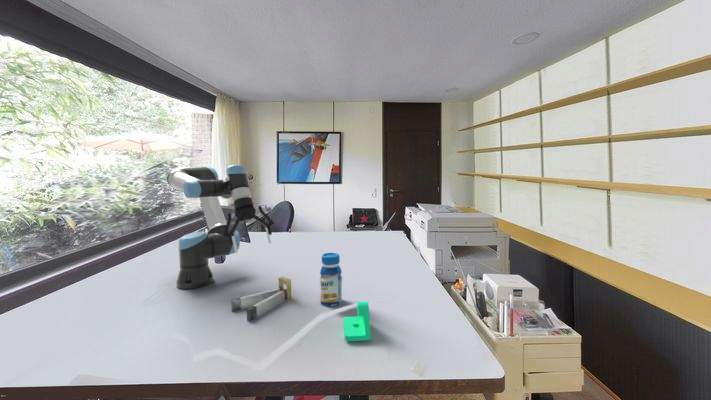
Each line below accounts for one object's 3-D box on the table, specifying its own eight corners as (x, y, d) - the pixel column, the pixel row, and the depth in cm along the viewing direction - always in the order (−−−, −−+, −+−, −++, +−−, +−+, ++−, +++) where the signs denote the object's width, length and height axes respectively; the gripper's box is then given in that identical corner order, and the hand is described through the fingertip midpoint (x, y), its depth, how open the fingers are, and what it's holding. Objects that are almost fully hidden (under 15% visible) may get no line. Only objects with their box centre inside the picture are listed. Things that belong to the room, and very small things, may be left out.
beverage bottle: (346, 304, 114) (346, 254, 112) (330, 312, 108) (329, 259, 106) (332, 298, 120) (331, 250, 118) (315, 305, 114) (314, 255, 112)
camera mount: (343, 324, 100) (343, 295, 99) (365, 323, 100) (365, 294, 99) (345, 344, 88) (344, 311, 87) (370, 343, 88) (370, 310, 88)
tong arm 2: (281, 300, 116) (281, 290, 115) (284, 300, 115) (284, 290, 115) (247, 320, 100) (246, 309, 99) (250, 321, 99) (249, 310, 99)
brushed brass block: (279, 297, 119) (278, 277, 118) (283, 295, 120) (282, 276, 120) (287, 300, 115) (286, 281, 114) (291, 299, 117) (291, 279, 116)
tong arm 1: (278, 297, 118) (278, 288, 117) (279, 299, 117) (279, 289, 116) (231, 310, 107) (231, 299, 107) (232, 311, 106) (232, 301, 106)
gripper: (209, 204, 119) (219, 255, 115) (271, 190, 126) (283, 237, 122) (213, 208, 126) (223, 256, 122) (272, 195, 133) (283, 240, 129)
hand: (253, 247), depth 122 cm, fingers open, 13 cm apart
